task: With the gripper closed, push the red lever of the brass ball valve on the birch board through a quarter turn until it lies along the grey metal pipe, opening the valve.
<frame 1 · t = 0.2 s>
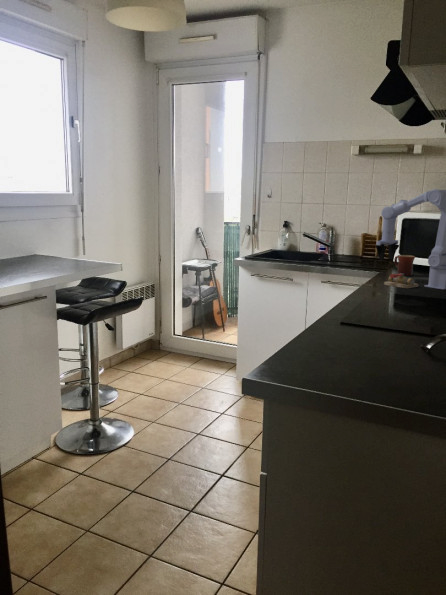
hand: (386, 259, 247), 10 cm above the countertop, fingers open, 7 cm apart
valve lever: (397, 275, 229), point 5 cm above the countertop, hinge at 90.0°
mug: (402, 275, 264), on the countertop
valve board: (400, 285, 232), on the countertop
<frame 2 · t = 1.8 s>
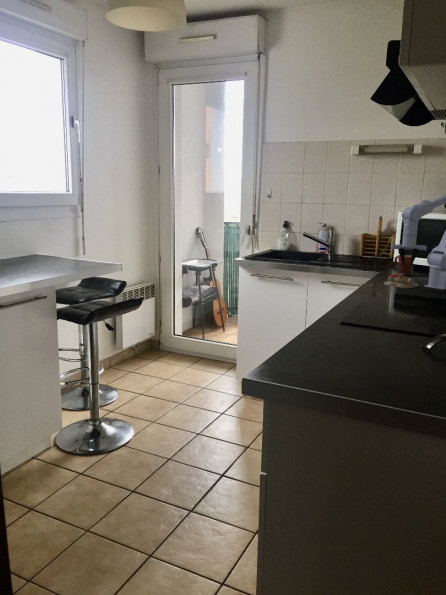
hand: (407, 265, 221), 10 cm above the countertop, fingers open, 3 cm apart
nothing on the countertop moved.
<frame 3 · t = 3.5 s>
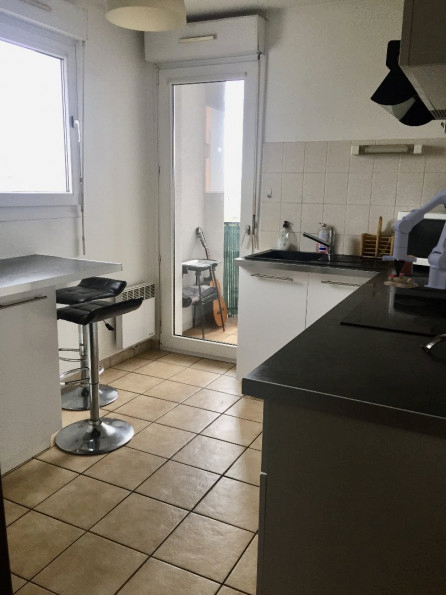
hand: (397, 277, 225), 5 cm above the countertop, fingers closed, pressing on valve lever
valve lever: (397, 275, 229), point 5 cm above the countertop, hinge at 89.6°, touching gripper
everything else where it was.
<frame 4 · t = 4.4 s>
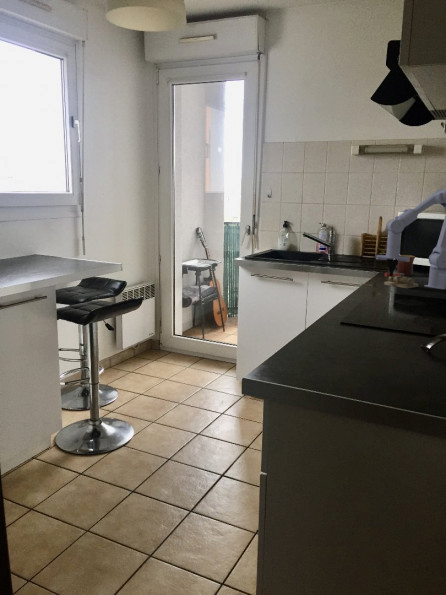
hand: (391, 276, 228), 5 cm above the countertop, fingers closed, pressing on valve lever
valve lever: (394, 274, 230), point 5 cm above the countertop, hinge at 60.5°, touching gripper
everything else where it was.
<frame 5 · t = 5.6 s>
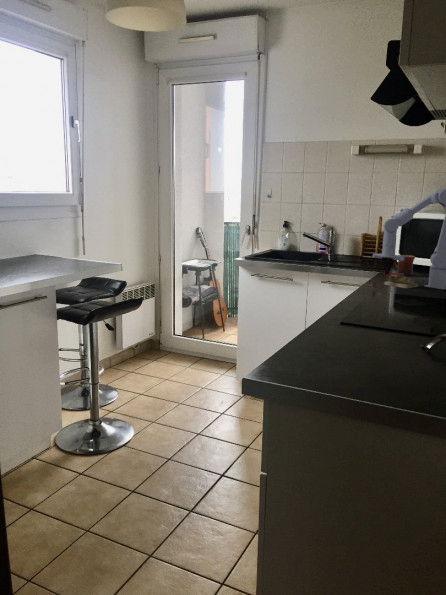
hand: (386, 274, 232), 5 cm above the countertop, fingers closed, pressing on valve lever
valve lever: (394, 273, 233), point 5 cm above the countertop, hinge at 19.6°, touching gripper
everything else where it was.
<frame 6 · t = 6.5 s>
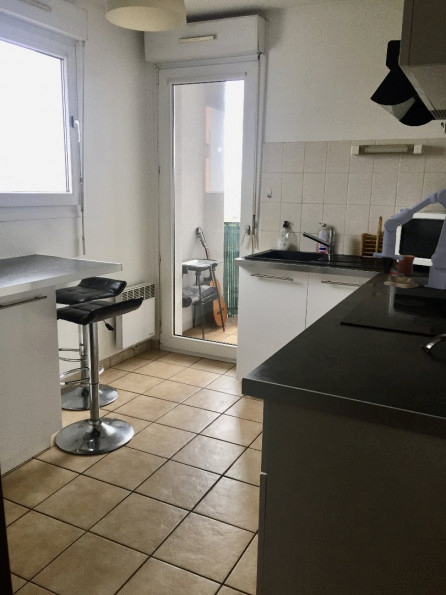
hand: (386, 273, 234), 5 cm above the countertop, fingers closed
valve lever: (395, 273, 234), point 5 cm above the countertop, hinge at -1.6°
everything else where it was.
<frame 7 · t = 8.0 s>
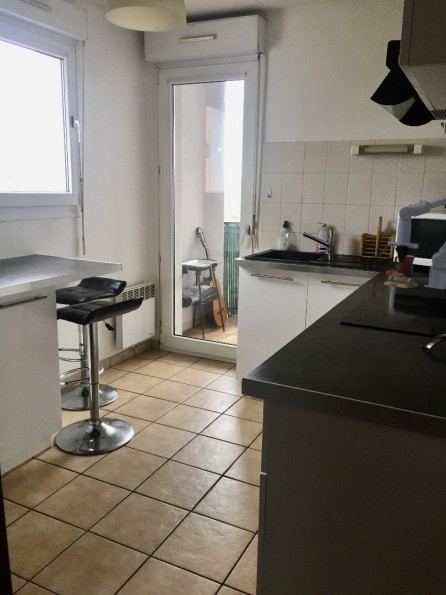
hand: (401, 262, 233), 10 cm above the countertop, fingers closed
nothing on the countertop moved.
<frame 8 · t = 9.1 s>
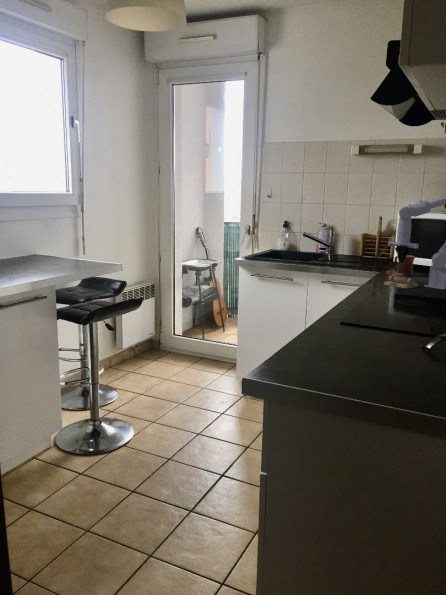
hand: (401, 262, 233), 10 cm above the countertop, fingers closed
nothing on the countertop moved.
at the end: valve lever at -2° (first picture: +90°); mug moved 0.2 cm from its start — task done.
